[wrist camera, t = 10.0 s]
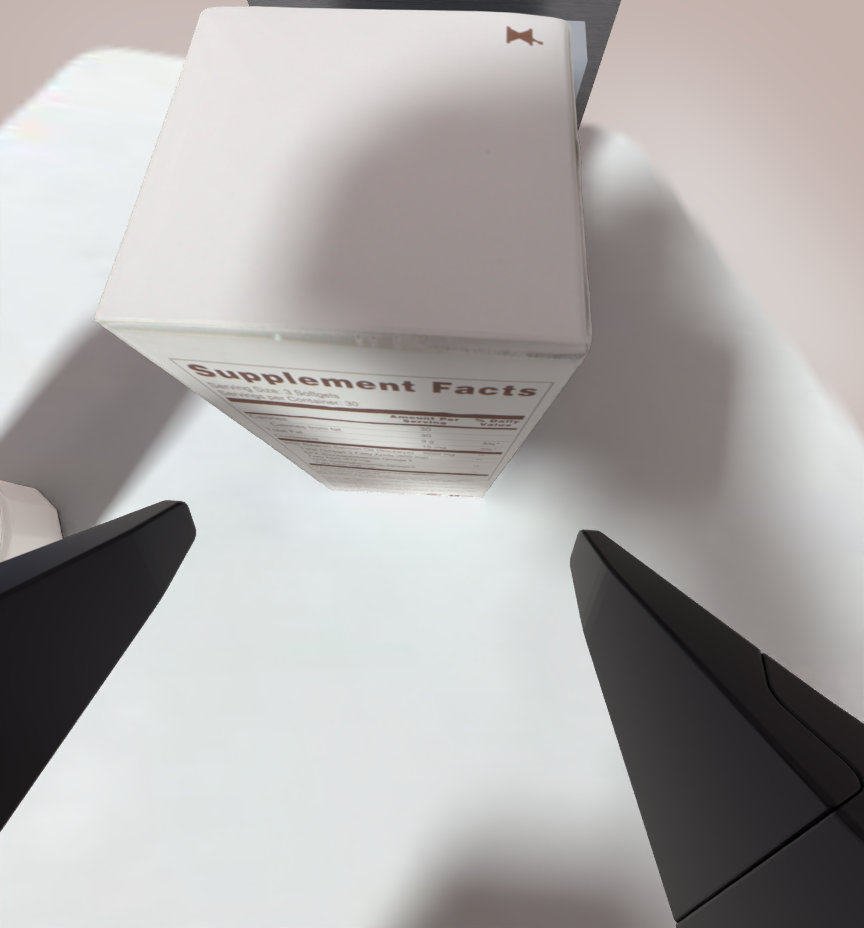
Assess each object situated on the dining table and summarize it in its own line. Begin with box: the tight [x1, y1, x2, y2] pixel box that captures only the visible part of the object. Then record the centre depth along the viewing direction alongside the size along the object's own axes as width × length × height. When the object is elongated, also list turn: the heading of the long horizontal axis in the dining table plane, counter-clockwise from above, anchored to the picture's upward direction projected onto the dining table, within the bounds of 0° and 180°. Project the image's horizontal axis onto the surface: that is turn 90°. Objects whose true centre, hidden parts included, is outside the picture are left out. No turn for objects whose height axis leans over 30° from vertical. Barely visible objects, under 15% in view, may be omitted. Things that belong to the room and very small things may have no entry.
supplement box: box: [95, 6, 592, 498], centre depth 12 cm, size 7×7×13 cm
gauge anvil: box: [247, 0, 621, 131], centre depth 16 cm, size 12×12×10 cm
